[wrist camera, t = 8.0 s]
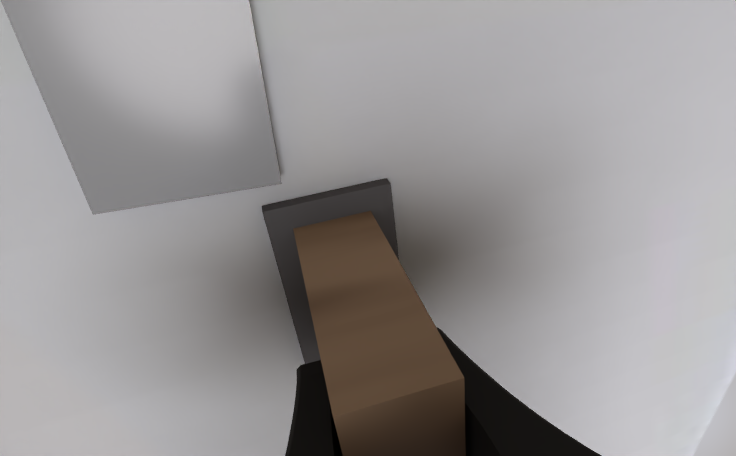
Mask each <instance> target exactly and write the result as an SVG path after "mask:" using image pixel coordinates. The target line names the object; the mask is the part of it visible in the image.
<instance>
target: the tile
mask: <svg viewBox="0 0 736 456" xmlns="http://www.w3.org/2000/svg"><path fill="white" fill-rule="evenodd" d="M1 2H2V4H3V7H4V9H5V11H6V14H7V16H8V18H9V21H10V23H11V25H12V28H13V30H14V32H15V35H16V37H17V39H18V42H19V44H20V46H21V49H22V51H23V53H24V56H25V58H26V60H27V62H28V65H29V67H30V69H31V72H32V74H33V76H34V79H35V81H36V83H37V86H38V88H39V90H40V93H41V95H42V97H43V100H44V102H45V104H46V107H47V109H48V111H49V114H50V116H51V118H52V121H53V123H54V125H55V128H56V130H57V132H58V135H59V137H60V139H61V142H62V144H63V146H64V149H65V151H66V153H67V156H68V158H69V160H70V162H71V165H72V167H73V169H74V172H75V174H76V176H77V179H78V181H79V183H80V186H81V188H82V190H83V193H84V195H85V197H86V200H87V202H88V204H89V207H90V209H91V211H92V214H99V213H105V212H112V211H118V210H124V209H130V208H136V207H142V206H148V205H154V204H160V203H166V202H173V201H179V200H185V199H191V198H197V197H203V196H209V195H215V194H221V193H227V192H234V191H240V190H246V189H252V188H258V187H264V186H270V185H276V184H282V183H281V177H280V171H279V166H278V160H277V155H276V149H275V143H274V138H273V132H272V126H271V121H270V115H269V110H268V104H267V98H266V93H265V87H264V82H263V76H262V70H261V65H260V59H259V53H258V48H257V42H256V37H255V31H254V25H253V20H252V14H251V9H250V3H249V0H1Z"/></svg>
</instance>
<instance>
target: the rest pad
mask: <svg viewBox="0 0 736 456" xmlns="http://www.w3.org/2000/svg"><path fill="white" fill-rule="evenodd" d="M367 211H371V212H372V214H373V216H374V218H375V219H376V221H377V223H378V225H379V227H380V228H381V230H382V232H383V234H384V235H385V237H386V239H387V241H388V243H389V244H390V246H391V248H392V250H393V252H394V253H395V255H396V257H397V259H398V260H399V258H398V249H397V240H396V230H395V221H394V212H393V202H392V193H391V184H390V182H389V181H388V179H383V180H378V181H374V182H369V183H365V184H360V185H355V186H351V187H346V188H342V189H337V190H333V191H328V192H324V193H319V194H315V195H310V196H306V197H301V198H297V199H292V200H288V201H283V202H279V203H274V204H270V205H265V206H262V212H263V215H264V219H265V223H266V226H267V230H268V233H269V237H270V240H271V244H272V247H273V251H274V255H275V258H276V262H277V265H278V269H279V272H280V276H281V279H282V283H283V287H284V290H285V294H286V297H287V301H288V304H289V308H290V311H291V315H292V319H293V322H294V326H295V329H296V333H297V336H298V340H299V343H300V347H301V351H302V354H303V358H304V361H305V364H307V363H311V362H314V361H318V360H321V358H320V353H319V349H318V344H317V339H316V334H315V330H314V325H313V320H312V316H311V311H310V306H309V301H308V297H307V292H306V287H305V283H304V278H303V273H302V268H301V264H300V259H299V254H298V249H297V245H296V240H295V235H294V231H293V229H294V228H298V227H303V226H307V225H311V224H316V223H320V222H324V221H328V220H333V219H337V218H341V217H346V216H350V215H354V214H359V213H363V212H367Z"/></svg>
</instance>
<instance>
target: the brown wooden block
mask: <svg viewBox="0 0 736 456" xmlns="http://www.w3.org/2000/svg"><path fill="white" fill-rule="evenodd" d="M293 231H294V235H295V240H296V245H297V249H298V254H299V259H300V264H301V268H302V273H303V278H304V283H305V287H306V292H307V297H308V301H309V306H310V311H311V316H312V320H313V325H314V330H315V334H316V339H317V344H318V349H319V353H320V358H321V363H322V368H323V372H324V377H325V382H326V386H327V391H328V396H329V401H330V405H331V410H332V415H333V419H334V423H335V427H336V431H337V435H338V438H339V442H340V446H341V450H342V454H343V456H466V445H465V385H464V376H463V374H462V373H461V371H460V369H459V367H458V365H457V364H456V362H455V360H454V358H453V357H452V355H451V353H450V351H449V349H448V348H447V346H446V344H445V342H444V341H443V339H442V337H441V335H440V333H439V332H438V330H437V328H436V326H435V325H434V323H433V321H432V319H431V317H430V316H429V314H428V312H427V310H426V309H425V307H424V305H423V303H422V301H421V300H420V298H419V296H418V294H417V292H416V291H415V289H414V287H413V285H412V284H411V282H410V280H409V278H408V276H407V275H406V273H405V271H404V269H403V268H402V266H401V264H400V262H399V260H398V259H397V257H396V255H395V253H394V252H393V250H392V248H391V246H390V244H389V243H388V241H387V239H386V237H385V235H384V234H383V232H382V230H381V228H380V227H379V225H378V223H377V221H376V219H375V218H374V216H373V214H372V212H371V211H367V212H363V213H359V214H354V215H350V216H346V217H341V218H337V219H333V220H328V221H324V222H320V223H316V224H311V225H307V226H303V227H298V228H294V229H293Z"/></svg>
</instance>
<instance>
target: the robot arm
mask: <svg viewBox="0 0 736 456" xmlns="http://www.w3.org/2000/svg"><path fill="white" fill-rule="evenodd" d="M437 330H438V332H439V333H440V335H441V337H442V339H443V341H444V342H445V344H446V346H447V348H448V349H449V351H450V353H451V355H452V357H453V358H454V360H455V362H456V364H457V365H458V367H459V369H460V371H461V373H462V374H463V376H464V385H465V445H466V456H601V455H600V454H598V453H596V452H594V451H593V450H591V449H589V448H588V447H586V446H584V445H583V444H581V443H580V442H578V441H577V440H575V439H573V438H572V437H570V436H569V435H567V434H566V433H564V432H563V431H561V430H560V429H558V428H557V427H555V426H554V425H552V424H551V423H549V422H548V421H546V420H545V419H544V418H542V417H541V416H539V415H538V414H537V413H535V412H534V411H533V410H531V409H530V408H528V407H527V406H526V405H525V404H523V403H522V402H521V401H519V400H518V399H517V398H516V397H514V396H513V395H512V394H510V393H509V392H508V391H507V390H506V389H504V388H503V387H502V386H501V385H499V384H498V383H497V382H496V381H495V380H494V379H492V378H491V377H490V376H489V375H488V374H487V373H486V372H484V371H483V370H482V369H481V368H480V367H479V366H478V365H476V364H475V363H474V362H473V361H472V360H471V359H470V358H469V357H468V356H467V355H466V354H465V353H464V352H463V351H461V350H460V349H459V348H458V347H457V346H456V345H455V344H454V343H453V342H452V341H451V340H450V339H449V338H448V337H447V336H446V335H445V333H444V332H443V331H442V330H441V329H439V328H437ZM285 456H343V454H342V450H341V446H340V442H339V438H338V435H337V431H336V427H335V423H334V419H333V415H332V410H331V405H330V401H329V396H328V391H327V386H326V382H325V377H324V372H323V368H322V363H321V360H318V361H314V362H311V363H307V364H304V365H300V366H299V368H298V369H297V386H296V398H295V406H294V413H293V419H292V424H291V430H290V435H289V441H288V446H287V450H286V455H285Z"/></svg>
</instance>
